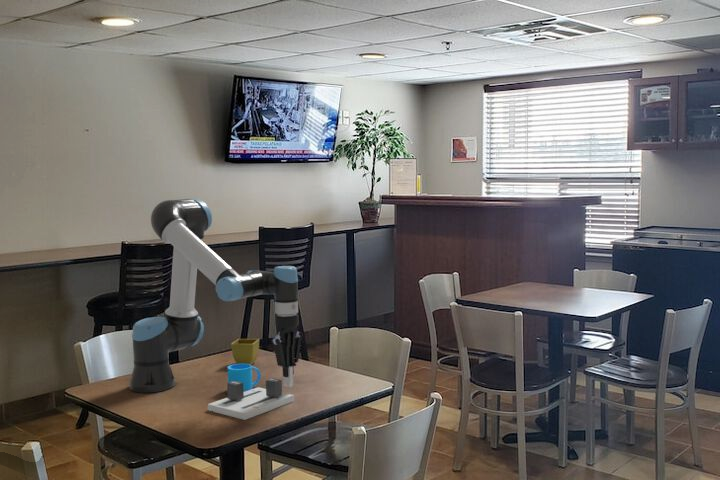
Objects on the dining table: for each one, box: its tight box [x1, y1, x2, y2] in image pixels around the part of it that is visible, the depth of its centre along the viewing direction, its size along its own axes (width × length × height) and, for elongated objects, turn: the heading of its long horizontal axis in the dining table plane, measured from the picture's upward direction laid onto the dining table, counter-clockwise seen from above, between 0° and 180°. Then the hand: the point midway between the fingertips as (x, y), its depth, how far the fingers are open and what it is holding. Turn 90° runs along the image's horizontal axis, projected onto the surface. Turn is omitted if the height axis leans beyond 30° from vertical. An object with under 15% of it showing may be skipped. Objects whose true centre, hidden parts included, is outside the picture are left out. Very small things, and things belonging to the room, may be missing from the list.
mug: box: [227, 363, 262, 392], centre depth 252 cm, size 12×8×8 cm
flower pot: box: [230, 338, 260, 366], centre depth 286 cm, size 9×9×9 cm
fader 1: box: [226, 381, 244, 401], centre depth 234 cm, size 4×3×5 cm
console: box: [207, 386, 295, 421], centre depth 234 cm, size 16×22×2 cm
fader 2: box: [265, 377, 283, 398], centre depth 236 cm, size 4×3×5 cm
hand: (288, 385), depth 242 cm, fingers closed
